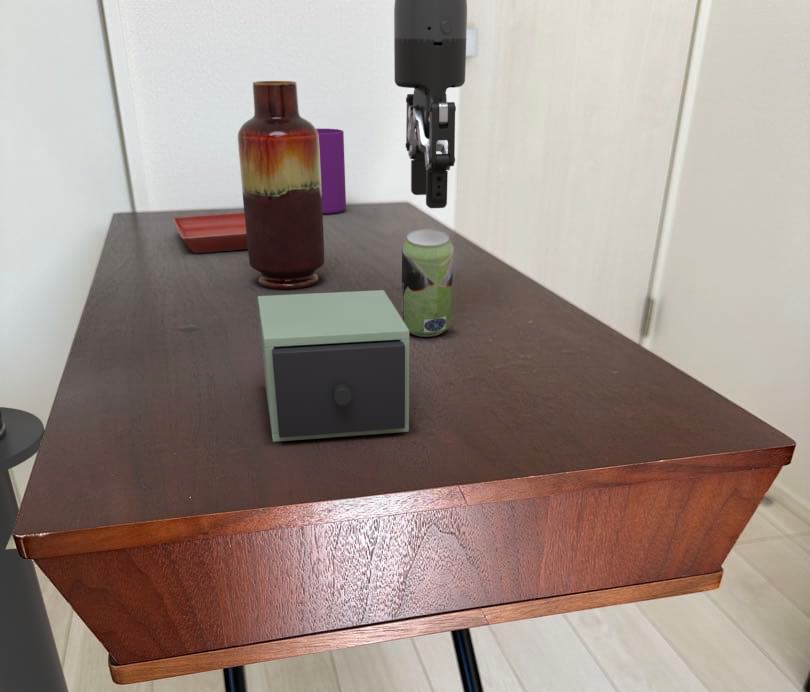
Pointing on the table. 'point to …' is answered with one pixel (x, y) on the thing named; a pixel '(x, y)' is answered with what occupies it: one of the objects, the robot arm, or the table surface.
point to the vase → (281, 189)
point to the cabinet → (328, 334)
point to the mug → (332, 170)
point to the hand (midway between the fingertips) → (428, 200)
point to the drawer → (339, 387)
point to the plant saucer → (213, 232)
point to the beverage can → (427, 282)
